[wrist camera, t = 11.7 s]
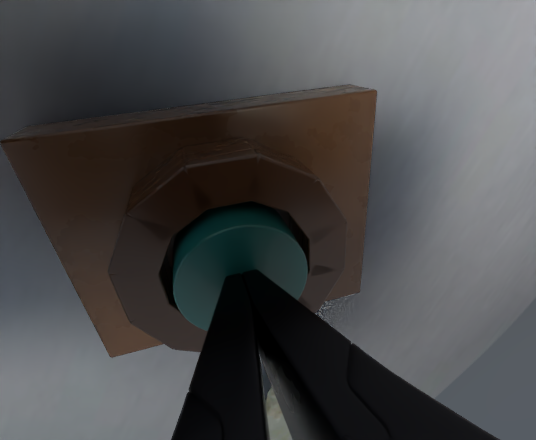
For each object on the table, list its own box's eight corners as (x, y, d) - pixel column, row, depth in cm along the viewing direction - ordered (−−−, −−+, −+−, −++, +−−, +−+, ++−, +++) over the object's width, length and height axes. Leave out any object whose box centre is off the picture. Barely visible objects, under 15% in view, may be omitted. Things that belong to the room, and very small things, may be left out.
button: (187, 305, 10) (189, 349, 9) (159, 209, 8) (156, 243, 7) (291, 280, 11) (309, 316, 9) (285, 185, 9) (307, 212, 8)
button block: (117, 323, 13) (100, 407, 10) (25, 125, 9) (-50, 164, 6) (342, 268, 15) (385, 324, 12) (350, 84, 11) (419, 97, 8)
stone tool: (332, 340, 18) (264, 369, 15) (356, 366, 17) (287, 403, 14) (285, 428, 22) (222, 466, 19) (302, 454, 20) (237, 500, 17)
